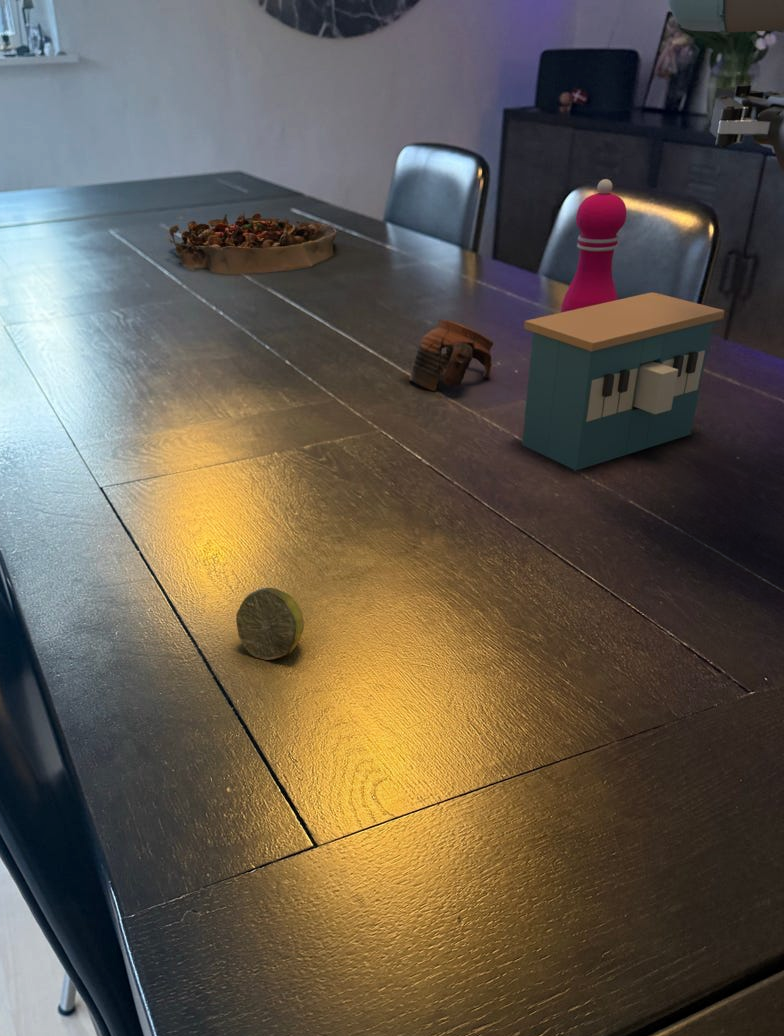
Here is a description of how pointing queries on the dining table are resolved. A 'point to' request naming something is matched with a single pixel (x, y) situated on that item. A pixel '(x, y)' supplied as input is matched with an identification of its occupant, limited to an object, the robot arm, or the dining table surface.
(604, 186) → the pepper mill
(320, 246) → the food dish
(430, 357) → the rusty brown helmet
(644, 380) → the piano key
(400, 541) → the dining table surface
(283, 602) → the lime
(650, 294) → the toy piano
